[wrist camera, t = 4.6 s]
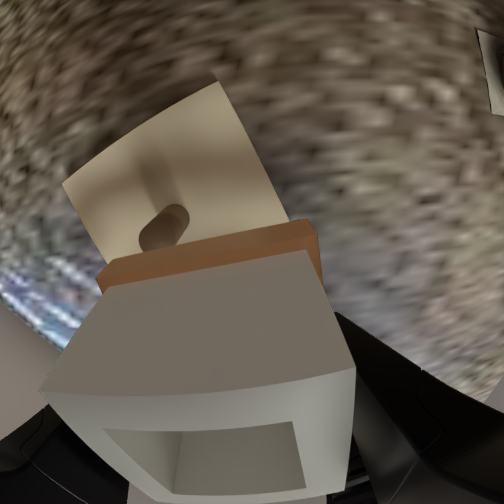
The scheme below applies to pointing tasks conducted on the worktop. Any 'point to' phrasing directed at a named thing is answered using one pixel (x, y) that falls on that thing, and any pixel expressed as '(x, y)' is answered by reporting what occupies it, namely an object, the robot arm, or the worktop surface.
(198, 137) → the pin board
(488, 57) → the condiment
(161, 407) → the sleeve
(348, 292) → the worktop surface
